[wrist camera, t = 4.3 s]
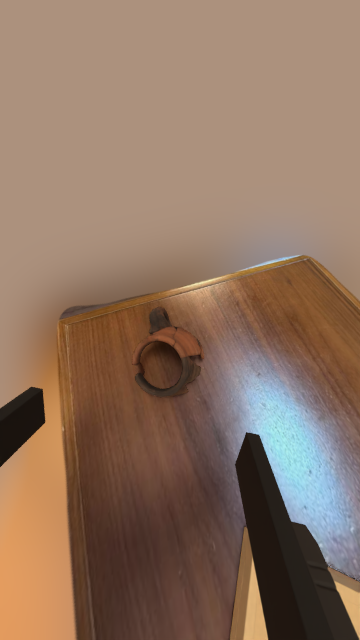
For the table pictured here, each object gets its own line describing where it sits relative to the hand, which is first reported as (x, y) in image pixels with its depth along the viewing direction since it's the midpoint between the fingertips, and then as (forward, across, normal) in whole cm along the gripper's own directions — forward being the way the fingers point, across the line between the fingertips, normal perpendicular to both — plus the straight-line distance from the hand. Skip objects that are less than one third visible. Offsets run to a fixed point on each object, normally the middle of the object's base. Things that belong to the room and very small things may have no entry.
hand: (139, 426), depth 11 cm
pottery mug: (+16, 0, -3) cm, 16 cm away
